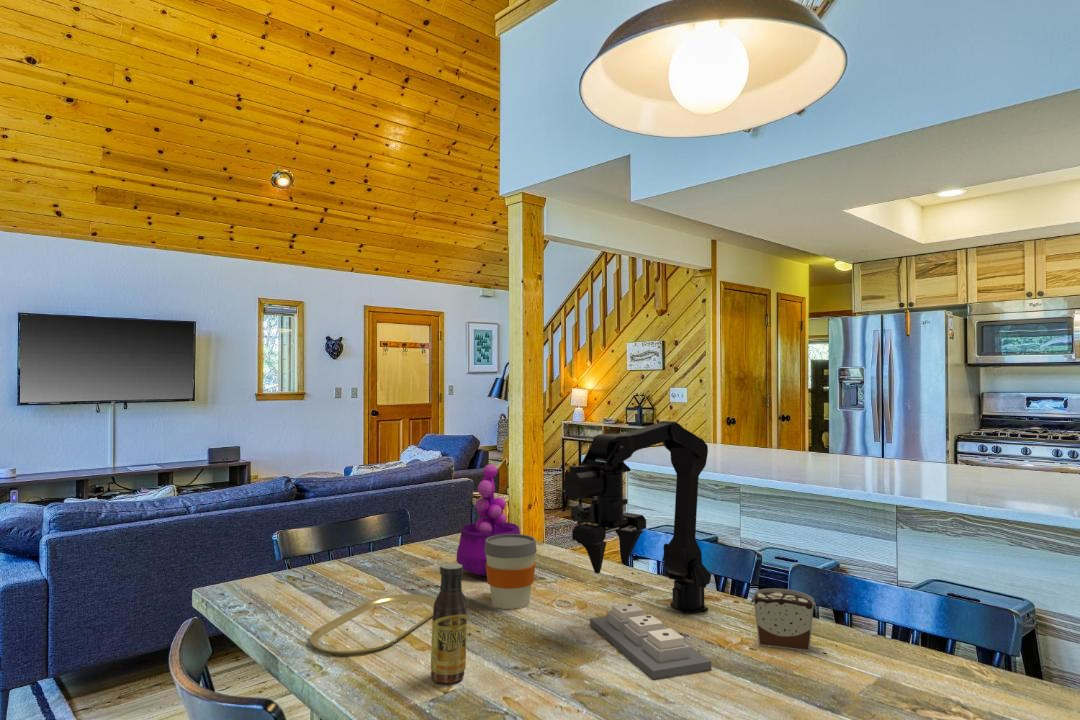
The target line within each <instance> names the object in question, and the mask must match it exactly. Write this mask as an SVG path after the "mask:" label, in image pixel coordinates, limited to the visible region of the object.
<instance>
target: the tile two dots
mask: <svg viewBox="0 0 1080 720" xmlns="http://www.w3.org/2000/svg"><path fill="white" fill-rule="evenodd" d="M611 611H612V614H613V615H614V616H616V617H617V618H618V619H620V620H621V621H624V620H629V618H630V617H637V616H644V615H645V614H644V613H645V612H644V609H643V608H641V607H640V606H638V605H637V604H635V603H634V602H626V603H617V604H611Z"/></svg>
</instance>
